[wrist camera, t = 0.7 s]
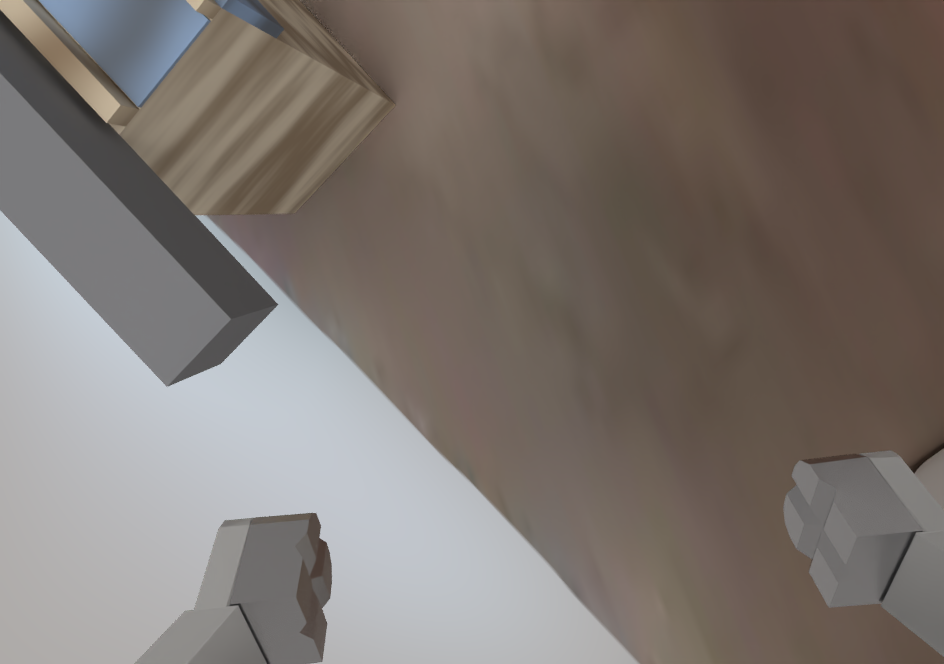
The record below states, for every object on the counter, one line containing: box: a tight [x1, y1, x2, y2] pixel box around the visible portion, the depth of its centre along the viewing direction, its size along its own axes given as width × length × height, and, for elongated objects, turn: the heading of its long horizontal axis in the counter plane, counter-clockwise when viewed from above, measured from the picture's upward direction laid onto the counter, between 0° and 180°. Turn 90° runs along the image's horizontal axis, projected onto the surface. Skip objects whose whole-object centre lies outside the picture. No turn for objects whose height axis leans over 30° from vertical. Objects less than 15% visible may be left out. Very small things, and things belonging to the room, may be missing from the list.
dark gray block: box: [0, 10, 278, 386], centre depth 27 cm, size 26×4×4 cm, turn 44°
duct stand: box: [0, 0, 396, 215], centre depth 40 cm, size 18×13×27 cm
